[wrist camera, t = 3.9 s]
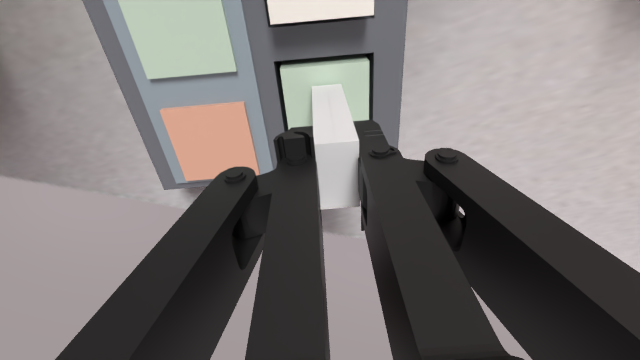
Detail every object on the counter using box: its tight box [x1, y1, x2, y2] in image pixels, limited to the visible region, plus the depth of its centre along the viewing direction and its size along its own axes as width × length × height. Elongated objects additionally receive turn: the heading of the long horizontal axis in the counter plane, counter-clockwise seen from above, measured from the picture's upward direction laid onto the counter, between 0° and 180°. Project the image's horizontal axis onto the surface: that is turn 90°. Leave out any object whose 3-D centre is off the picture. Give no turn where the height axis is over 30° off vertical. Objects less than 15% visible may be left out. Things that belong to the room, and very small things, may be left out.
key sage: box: [280, 53, 369, 129], centre depth 17 cm, size 4×4×2 cm
